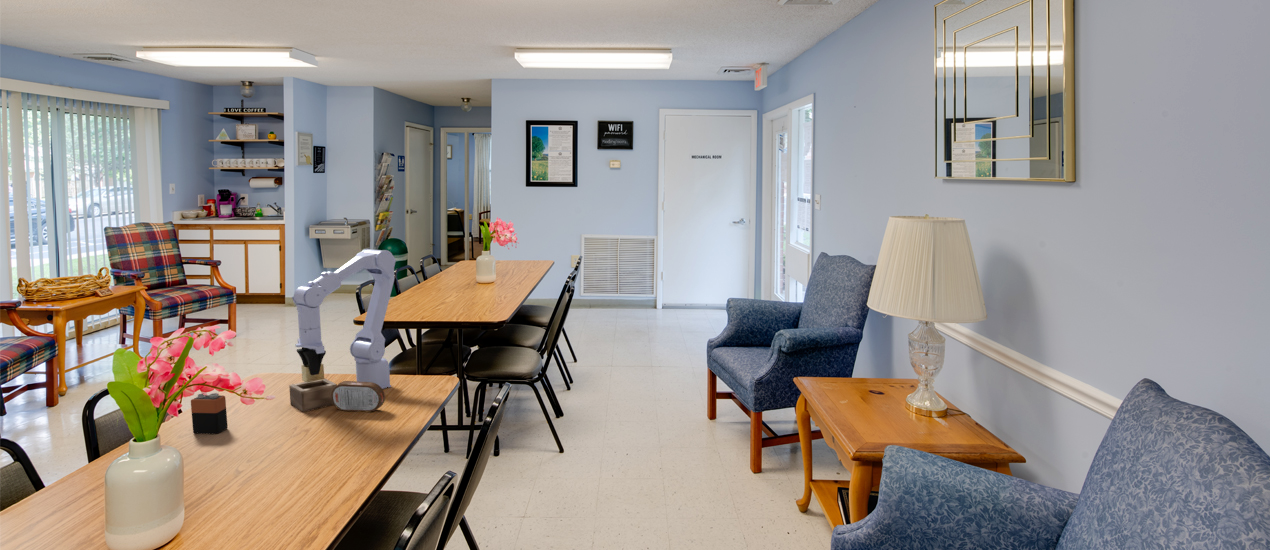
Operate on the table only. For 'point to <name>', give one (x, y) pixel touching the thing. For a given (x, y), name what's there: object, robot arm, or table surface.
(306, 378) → the olive yellow block
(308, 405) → the coin box
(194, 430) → the battery
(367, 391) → the tin
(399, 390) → the table surface
